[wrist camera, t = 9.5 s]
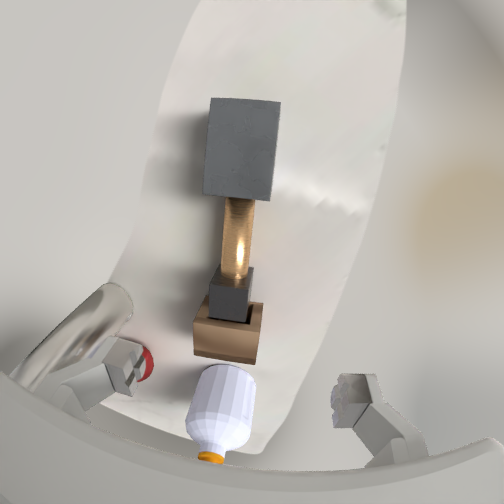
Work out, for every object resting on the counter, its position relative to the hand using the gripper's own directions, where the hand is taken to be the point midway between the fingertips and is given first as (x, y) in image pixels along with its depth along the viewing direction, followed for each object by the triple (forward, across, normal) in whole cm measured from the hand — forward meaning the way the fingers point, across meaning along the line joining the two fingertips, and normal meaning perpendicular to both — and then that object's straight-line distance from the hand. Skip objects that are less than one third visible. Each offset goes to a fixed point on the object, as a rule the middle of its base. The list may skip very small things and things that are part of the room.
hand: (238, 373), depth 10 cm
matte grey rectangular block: (+23, +3, -7) cm, 24 cm away
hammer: (+22, +3, +6) cm, 23 cm away
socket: (+22, +3, +14) cm, 26 cm away
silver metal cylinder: (+22, +21, +15) cm, 34 cm away
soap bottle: (+22, +3, +27) cm, 35 cm away
